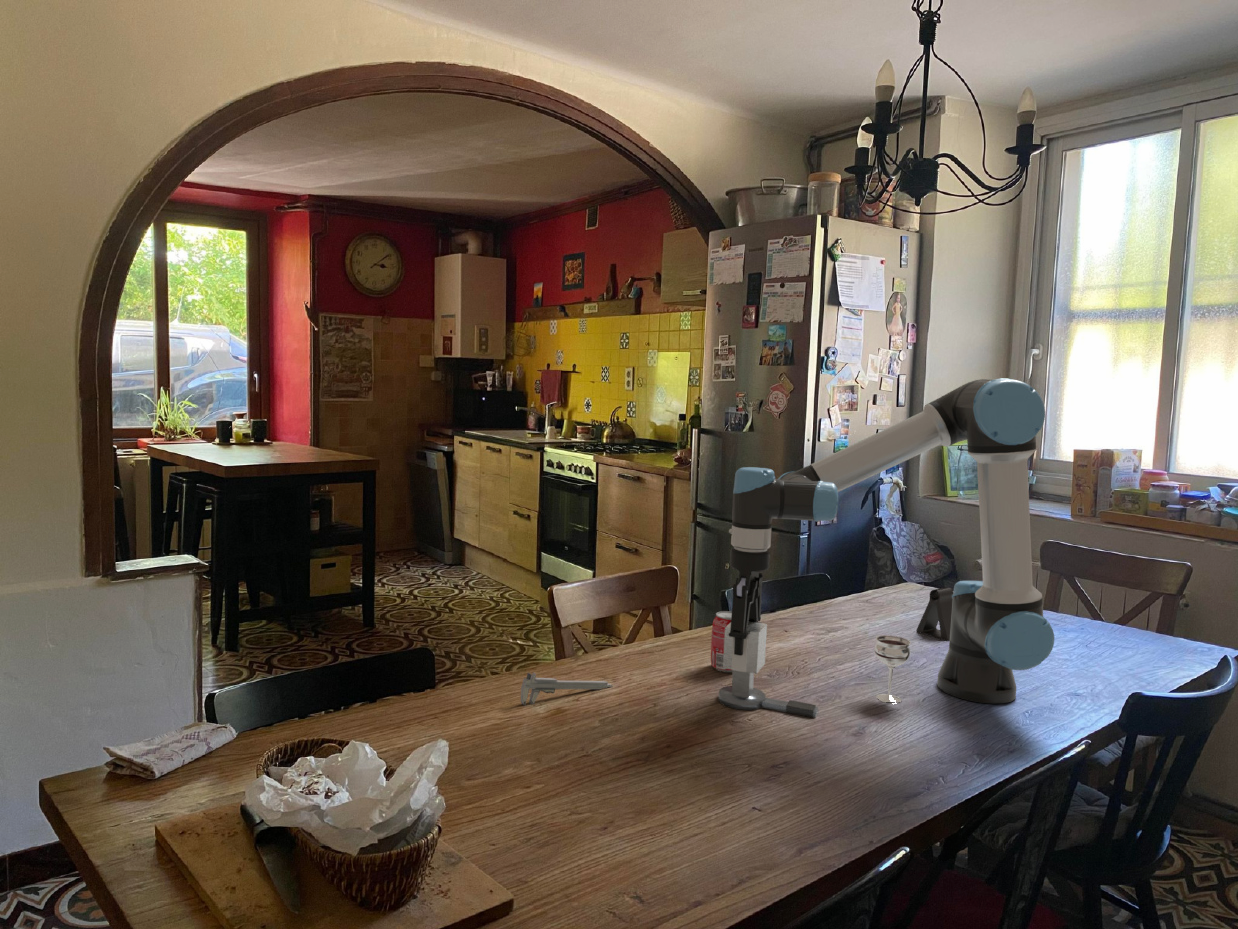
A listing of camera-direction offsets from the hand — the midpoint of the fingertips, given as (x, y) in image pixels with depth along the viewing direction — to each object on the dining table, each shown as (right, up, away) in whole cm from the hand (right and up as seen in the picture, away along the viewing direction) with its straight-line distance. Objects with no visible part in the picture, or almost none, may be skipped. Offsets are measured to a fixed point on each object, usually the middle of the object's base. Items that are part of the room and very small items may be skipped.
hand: (743, 664), depth 162 cm
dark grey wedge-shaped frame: (+58, -5, +52) cm, 78 cm away
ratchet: (+4, -8, -1) cm, 9 cm away
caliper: (-34, -7, 0) cm, 35 cm away
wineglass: (+30, -8, +5) cm, 31 cm away
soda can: (-1, -6, +19) cm, 20 cm away
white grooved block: (0, 0, 0) cm, 0 cm away
